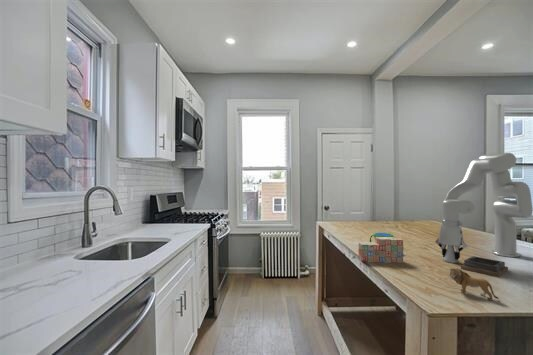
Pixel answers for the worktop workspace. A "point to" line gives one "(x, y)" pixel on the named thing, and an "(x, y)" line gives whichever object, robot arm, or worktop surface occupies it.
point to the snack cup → (381, 235)
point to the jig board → (484, 266)
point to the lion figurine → (471, 282)
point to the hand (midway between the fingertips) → (450, 257)
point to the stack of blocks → (382, 250)
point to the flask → (450, 255)
